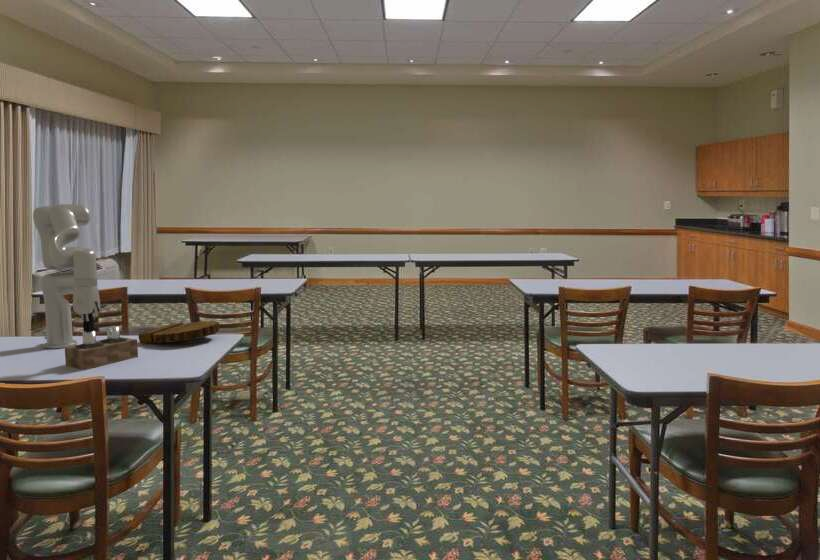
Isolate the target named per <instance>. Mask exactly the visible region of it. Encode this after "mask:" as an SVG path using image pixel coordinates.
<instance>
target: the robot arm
mask: <svg viewBox="0 0 820 560" xmlns="http://www.w3.org/2000/svg"><path fill="white" fill-rule="evenodd" d="M32 219H33V224H34V225H35V229H36V231H37V232H38V235H39V238H40V239H39V240H40V248H41V257H42V265H43V267H44V268H45V269H47V270H51V271H52V270H54V271H55V270H73V271H68V272H67V271H66V272H65V271H64V272H63V271H62V272H53V273H52V272H51V273H47V274H44V275H43V276H41V278H40V287H41V292H42V296H43V301H44V315H45V327H46V336H44V338H43V339H44V340H46V342H45V343H43V344H42V347H43V348H44V349H49V350H50V349H52V350H53V349H65V347H70V346H75V345H78V340H75V339H73V323H72V322H73V321H72V309H73V312H75V313H76V314H77V315H78V316H80V317H81V321H82V325H83V326H82V327H83V329H82V330H83V332H90V331H95V319H96V318H97V317H99V312H101V300H100V299H101V298H100V293H99V288H98V274H97V273H98V272H97V271H98V270H97V269H98V268H97V257H96V256H97V255H96V251H94V250H92V249H89V248H81V247H78V246H66V245H69V244H71V243H73V242H75V241H77V240H78V239H79V238H80V236H81V234H82V233H81V229H80V227H82V226H83V227H85V226H87V225H88V224H89V223H90V222H91V213H90V211H89V209H88V207H87V206H85V205H84V204H76V203H75V204H72V203H71V204H66V203H64V204H62V203H61V204H60V203H59V204H55V205H46V206H38V207H36V208H35V209H34V210H33V213H32ZM65 295H72V306H71V303H70V301H69V300H68V299H66V298H65V297H64V296H65ZM71 307H72V308H71Z"/></svg>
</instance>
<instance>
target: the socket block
mask: <svg viewBox="0 0 820 560" xmlns="http://www.w3.org/2000/svg"><path fill="white" fill-rule="evenodd" d="M138 348H139V347H138V339H137V338H136V339H135V338H128V337H124V336H123V337H122V336H120V340H117V341H107V338H105V339H104V338H103V339H100V340H99V339H98V340H96V345H93V346H89V347H86V346H83V343H81V344H76V345H74V346H70V347H65V348H64V357H65V367H71V368H74V369H75V368H76V369H81V370H85V371H87V370H90V369H96V368H100V367H103V366H107V365H111V364H114V363H118V362H123V361H127V360H130V359H135V358H138V357H139V351H138ZM134 357H135V358H134Z"/></svg>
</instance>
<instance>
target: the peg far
mask: <svg viewBox="0 0 820 560" xmlns="http://www.w3.org/2000/svg"><path fill="white" fill-rule="evenodd" d="M120 335H121V333H120V326H118V325H111V326H107V327H106V337H107V338H106V339H107V341H117V340H120V337H121V336H120Z"/></svg>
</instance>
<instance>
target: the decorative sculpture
mask: <svg viewBox="0 0 820 560" xmlns="http://www.w3.org/2000/svg"><path fill="white" fill-rule="evenodd" d="M219 331H220V323H219V321H217V320H216V321H213V320H207V321H206V320H205V321H196V322H189V323H188V322H187V323H183V322H175V323H174V322H173V323H169V324H166V325H163V326H159V327H157V328H154V329H151V330H147V331H145V332H144V331H143V332H141V333H139V334H138V341H139V343H140V344H141V343H146V344H156V343H158V344H166V343H168V342H169V343H170V342H177V343H179V342H183V341H189V340H194V339H201V338H203V337H208V336H211V335H214V334H216V333H219ZM146 344H145V345H146Z"/></svg>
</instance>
